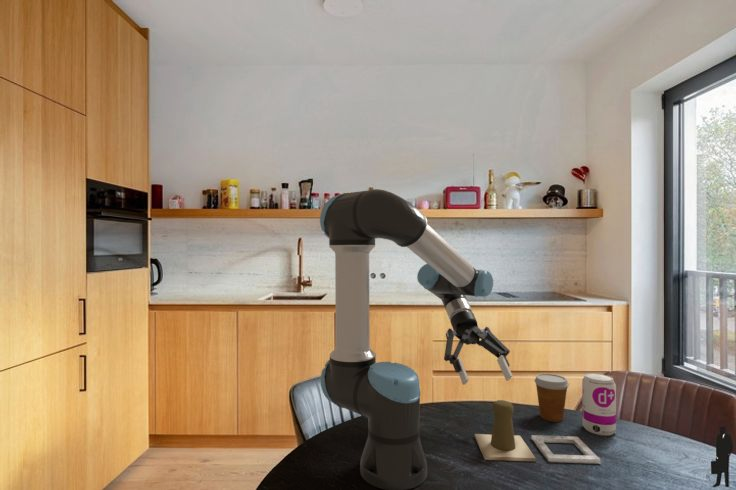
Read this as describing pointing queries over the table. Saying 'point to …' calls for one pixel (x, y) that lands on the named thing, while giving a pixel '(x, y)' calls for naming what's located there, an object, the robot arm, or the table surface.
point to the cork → (503, 426)
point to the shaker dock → (586, 458)
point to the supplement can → (599, 404)
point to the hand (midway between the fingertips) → (488, 380)
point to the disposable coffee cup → (551, 396)
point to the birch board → (492, 453)
